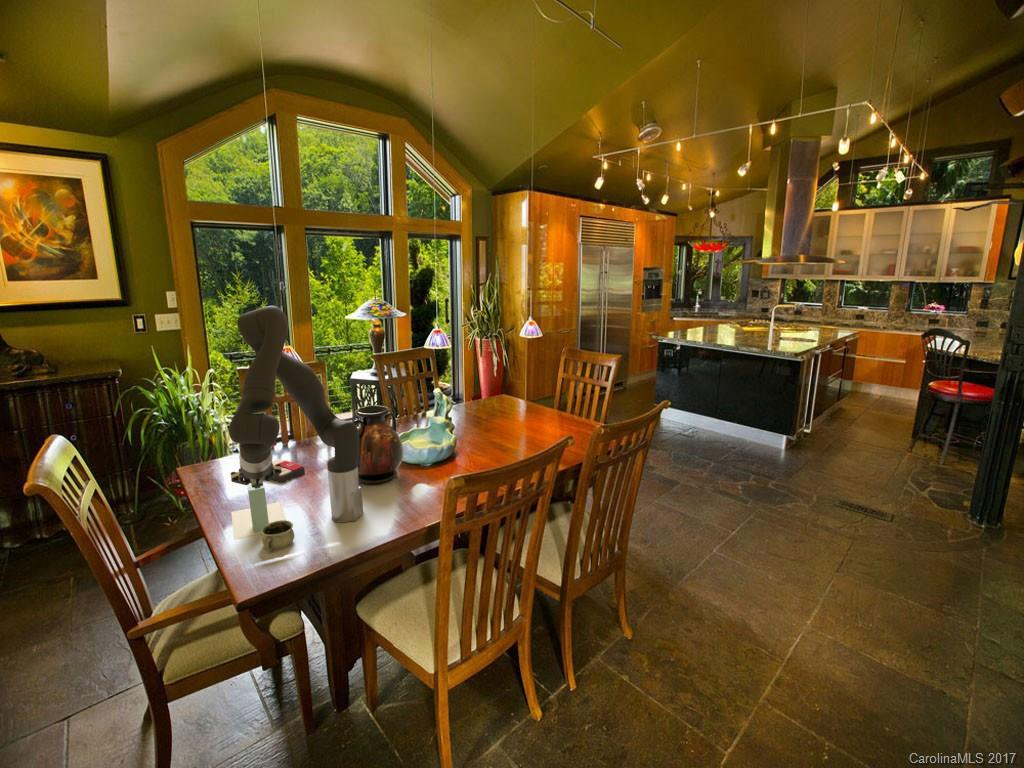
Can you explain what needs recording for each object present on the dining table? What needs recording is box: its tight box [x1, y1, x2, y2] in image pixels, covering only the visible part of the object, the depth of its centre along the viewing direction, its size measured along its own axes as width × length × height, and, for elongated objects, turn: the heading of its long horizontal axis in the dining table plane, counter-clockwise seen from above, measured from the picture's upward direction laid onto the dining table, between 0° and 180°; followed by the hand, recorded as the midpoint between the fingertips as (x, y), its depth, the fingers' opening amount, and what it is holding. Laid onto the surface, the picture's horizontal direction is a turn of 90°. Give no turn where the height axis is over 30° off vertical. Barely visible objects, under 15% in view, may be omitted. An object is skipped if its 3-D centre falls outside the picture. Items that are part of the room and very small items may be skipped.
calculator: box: [269, 458, 306, 484], centre depth 197 cm, size 11×4×15 cm
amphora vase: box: [351, 405, 405, 486], centre depth 192 cm, size 22×22×28 cm
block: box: [247, 483, 269, 533], centre depth 154 cm, size 4×4×14 cm
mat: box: [230, 501, 287, 541], centre depth 161 cm, size 20×15×1 cm
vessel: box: [260, 519, 296, 554], centre depth 146 cm, size 12×9×6 cm
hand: (257, 485), depth 142 cm, fingers closed
